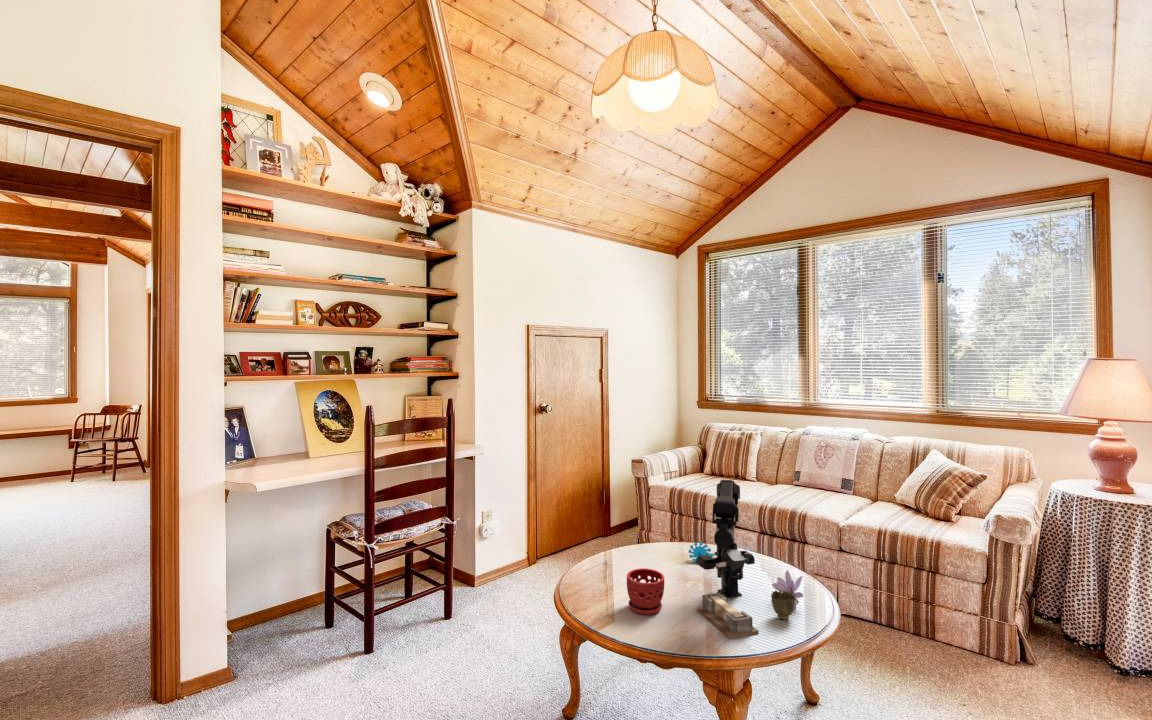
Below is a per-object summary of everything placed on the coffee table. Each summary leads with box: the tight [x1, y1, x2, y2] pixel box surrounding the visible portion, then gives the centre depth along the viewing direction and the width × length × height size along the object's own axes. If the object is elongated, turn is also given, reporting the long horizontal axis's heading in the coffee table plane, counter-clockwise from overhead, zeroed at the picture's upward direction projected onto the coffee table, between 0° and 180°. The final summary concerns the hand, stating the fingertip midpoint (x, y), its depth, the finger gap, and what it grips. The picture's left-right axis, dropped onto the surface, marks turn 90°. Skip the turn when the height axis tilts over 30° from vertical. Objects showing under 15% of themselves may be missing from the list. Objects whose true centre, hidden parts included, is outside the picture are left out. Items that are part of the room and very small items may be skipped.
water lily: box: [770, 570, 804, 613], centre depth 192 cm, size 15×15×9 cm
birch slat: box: [710, 596, 744, 621], centre depth 179 cm, size 16×3×4 cm, turn 16°
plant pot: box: [626, 567, 665, 615], centre depth 188 cm, size 13×13×12 cm
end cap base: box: [697, 592, 760, 639], centre depth 179 cm, size 21×10×5 cm, turn 16°
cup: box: [770, 590, 795, 621], centre depth 180 cm, size 8×7×8 cm
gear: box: [688, 541, 716, 563], centre depth 235 cm, size 11×6×10 cm
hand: (725, 585), depth 179 cm, fingers closed
